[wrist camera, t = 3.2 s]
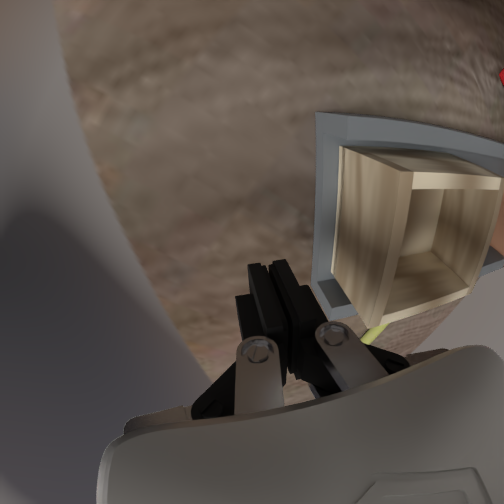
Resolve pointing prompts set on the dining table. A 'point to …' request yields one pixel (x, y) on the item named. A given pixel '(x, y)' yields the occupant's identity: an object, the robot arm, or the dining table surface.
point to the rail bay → (396, 136)
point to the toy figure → (502, 76)
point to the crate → (410, 229)
